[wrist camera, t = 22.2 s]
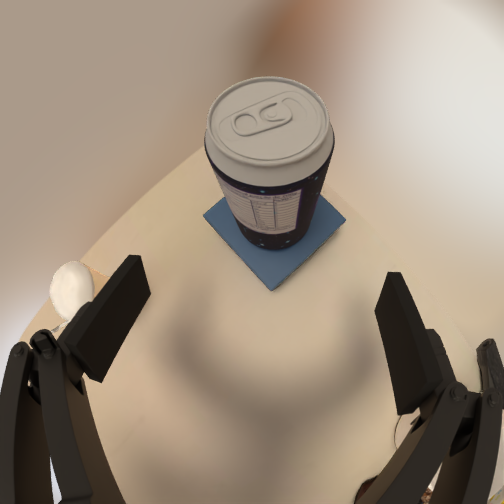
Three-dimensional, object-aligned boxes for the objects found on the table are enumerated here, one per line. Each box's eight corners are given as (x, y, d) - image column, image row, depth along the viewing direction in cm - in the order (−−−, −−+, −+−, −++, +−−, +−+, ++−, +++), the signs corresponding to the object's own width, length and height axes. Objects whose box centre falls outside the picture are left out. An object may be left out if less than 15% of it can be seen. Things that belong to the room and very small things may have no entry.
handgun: (410, 410, 20) (487, 335, 20) (448, 491, 15) (513, 428, 16) (419, 417, 18) (499, 335, 18) (456, 498, 13) (522, 432, 13)
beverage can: (321, 236, 21) (366, 147, 9) (252, 263, 21) (220, 197, 9) (292, 175, 22) (300, 61, 10) (228, 199, 22) (183, 95, 10)
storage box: (212, 228, 25) (202, 215, 22) (276, 173, 26) (275, 154, 23) (272, 294, 24) (271, 291, 20) (337, 232, 24) (346, 219, 21)
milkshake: (104, 328, 24) (34, 327, 14) (107, 276, 25) (39, 255, 16) (142, 333, 24) (73, 337, 14) (144, 278, 25) (79, 255, 15)
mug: (432, 478, 16) (483, 526, 5) (377, 438, 19) (431, 502, 7) (479, 423, 17) (544, 450, 6) (433, 373, 20) (516, 397, 8)
